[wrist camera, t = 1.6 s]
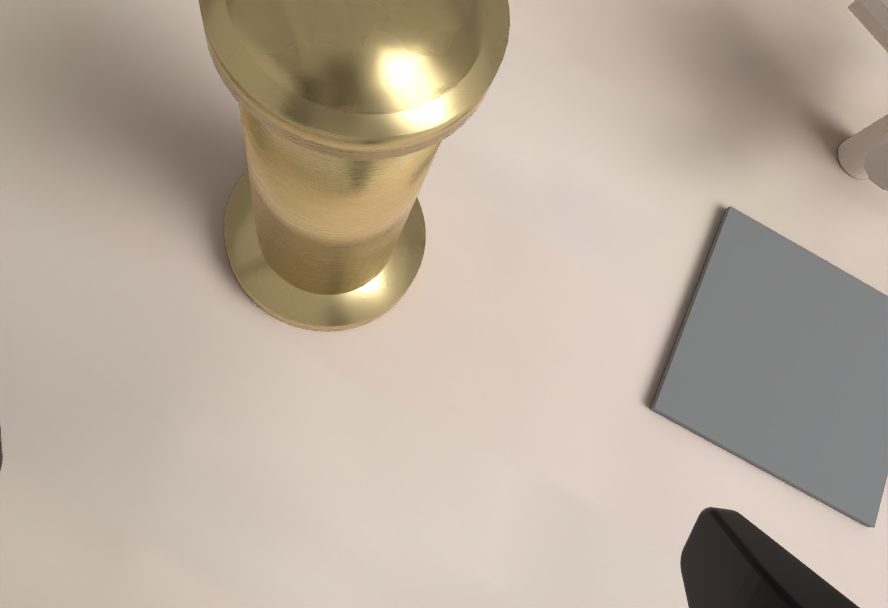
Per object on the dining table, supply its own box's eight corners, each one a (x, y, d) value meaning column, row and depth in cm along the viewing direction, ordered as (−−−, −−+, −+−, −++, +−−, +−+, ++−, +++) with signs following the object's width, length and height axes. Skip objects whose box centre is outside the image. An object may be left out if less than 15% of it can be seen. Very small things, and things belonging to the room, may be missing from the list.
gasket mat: (867, 527, 24) (874, 527, 24) (650, 408, 24) (654, 408, 24) (919, 319, 27) (926, 318, 27) (725, 208, 27) (730, 206, 26)
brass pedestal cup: (366, 366, 22) (446, 243, 11) (186, 270, 22) (71, 38, 10) (452, 206, 24) (595, -39, 13) (288, 116, 24) (286, -221, 12)
